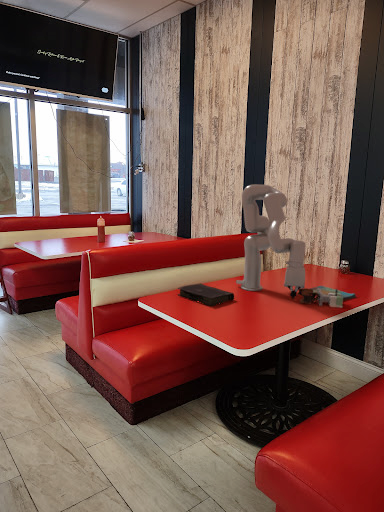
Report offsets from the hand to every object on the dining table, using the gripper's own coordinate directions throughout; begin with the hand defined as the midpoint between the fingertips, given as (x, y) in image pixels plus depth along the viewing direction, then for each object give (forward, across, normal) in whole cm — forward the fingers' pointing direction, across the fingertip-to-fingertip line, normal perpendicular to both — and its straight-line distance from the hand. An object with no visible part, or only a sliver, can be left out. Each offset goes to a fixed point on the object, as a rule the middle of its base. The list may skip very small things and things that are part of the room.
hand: (293, 297), depth 204 cm
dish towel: (+2, +21, +19) cm, 28 cm away
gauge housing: (+1, +21, 0) cm, 21 cm away
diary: (+2, -46, -10) cm, 47 cm away
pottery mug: (+2, +8, 0) cm, 8 cm away
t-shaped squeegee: (+1, +19, 0) cm, 19 cm away
